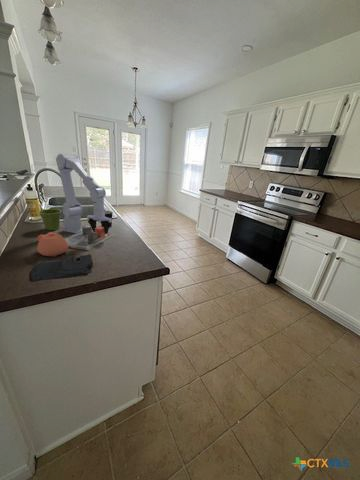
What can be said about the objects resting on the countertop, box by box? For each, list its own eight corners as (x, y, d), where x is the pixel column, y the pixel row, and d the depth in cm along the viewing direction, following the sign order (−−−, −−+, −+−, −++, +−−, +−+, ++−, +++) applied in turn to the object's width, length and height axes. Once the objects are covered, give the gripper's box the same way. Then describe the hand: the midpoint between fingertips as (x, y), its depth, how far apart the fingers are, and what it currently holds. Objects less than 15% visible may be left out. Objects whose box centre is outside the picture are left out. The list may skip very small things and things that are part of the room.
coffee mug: (115, 225, 142) (114, 211, 138) (110, 228, 134) (109, 214, 130) (99, 223, 143) (98, 209, 139) (93, 227, 135) (92, 212, 131)
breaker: (82, 233, 118) (82, 227, 116) (87, 231, 121) (86, 225, 120) (87, 234, 117) (86, 228, 116) (91, 232, 121) (91, 226, 119)
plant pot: (36, 229, 122) (33, 211, 118) (53, 224, 132) (50, 208, 128) (52, 233, 119) (49, 214, 115) (67, 227, 130) (65, 210, 126)
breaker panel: (57, 244, 104) (56, 241, 103) (87, 231, 126) (87, 228, 125) (87, 250, 101) (87, 246, 100) (113, 235, 123) (113, 232, 122)
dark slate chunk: (36, 264, 86) (34, 254, 84) (92, 258, 94) (92, 249, 93) (27, 284, 73) (25, 272, 71) (93, 275, 81) (92, 264, 80)
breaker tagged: (88, 239, 109) (87, 233, 108) (92, 237, 113) (92, 231, 112) (93, 240, 109) (92, 234, 107) (97, 238, 112) (97, 232, 111)
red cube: (95, 235, 116) (94, 228, 114) (99, 233, 119) (98, 226, 118) (101, 236, 115) (100, 229, 113) (105, 234, 119) (104, 227, 117)
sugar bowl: (55, 260, 89) (52, 239, 86) (28, 255, 91) (24, 234, 88) (74, 249, 100) (72, 230, 97) (50, 245, 103) (46, 226, 99)
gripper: (82, 209, 110) (84, 232, 115) (106, 212, 107) (107, 236, 112) (90, 207, 116) (92, 229, 121) (113, 210, 113) (114, 232, 118)
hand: (100, 232), depth 117 cm, fingers open, 7 cm apart
